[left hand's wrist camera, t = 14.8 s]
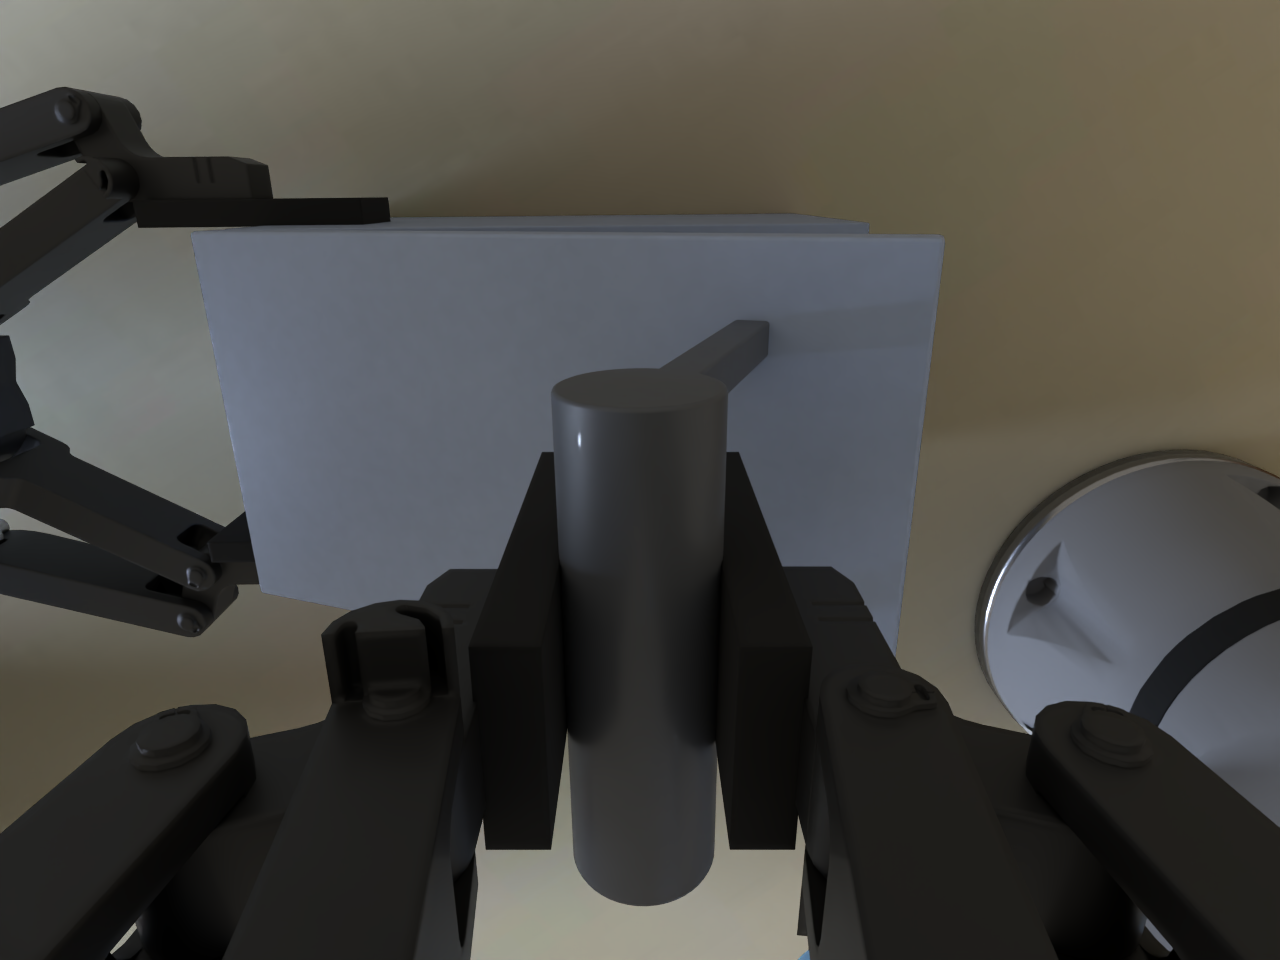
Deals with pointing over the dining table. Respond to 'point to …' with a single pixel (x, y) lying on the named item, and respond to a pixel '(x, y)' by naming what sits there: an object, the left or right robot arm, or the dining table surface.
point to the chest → (611, 224)
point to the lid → (581, 454)
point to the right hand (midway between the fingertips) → (396, 383)
